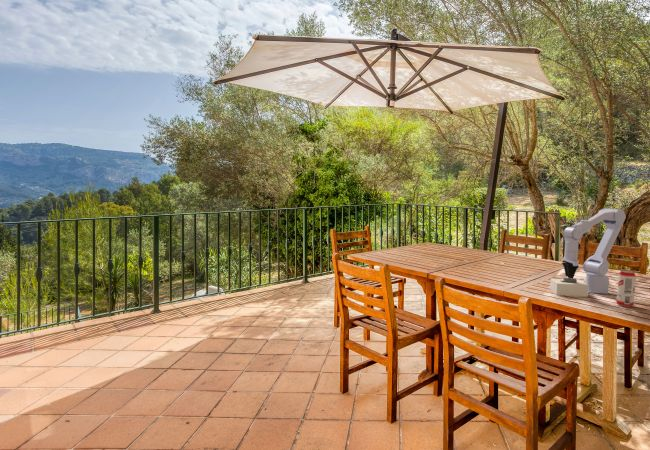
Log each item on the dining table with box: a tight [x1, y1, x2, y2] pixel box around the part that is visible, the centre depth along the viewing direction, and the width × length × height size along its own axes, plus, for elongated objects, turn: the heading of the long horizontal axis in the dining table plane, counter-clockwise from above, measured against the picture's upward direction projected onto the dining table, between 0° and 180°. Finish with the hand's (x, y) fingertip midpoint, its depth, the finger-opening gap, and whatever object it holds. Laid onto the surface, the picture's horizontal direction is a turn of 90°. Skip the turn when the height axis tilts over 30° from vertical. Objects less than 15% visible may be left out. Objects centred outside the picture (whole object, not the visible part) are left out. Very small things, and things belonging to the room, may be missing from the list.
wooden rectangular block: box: [562, 277, 578, 283], centre depth 198 cm, size 6×2×5 cm, turn 73°
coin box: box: [549, 278, 589, 298], centre depth 198 cm, size 14×10×6 cm
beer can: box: [615, 269, 637, 308], centre depth 178 cm, size 6×6×16 cm
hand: (569, 277), depth 198 cm, fingers open, 3 cm apart
